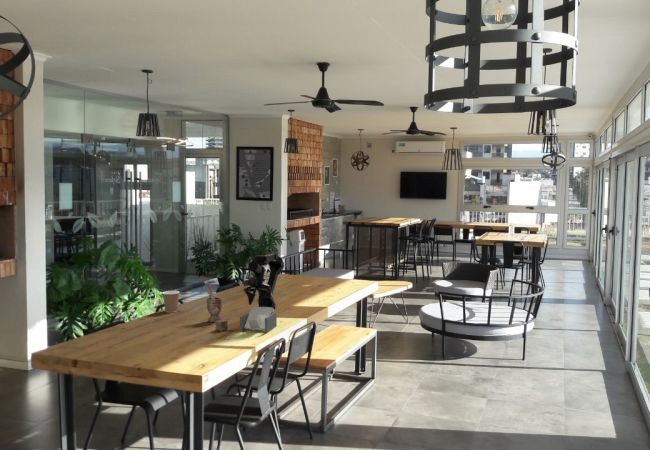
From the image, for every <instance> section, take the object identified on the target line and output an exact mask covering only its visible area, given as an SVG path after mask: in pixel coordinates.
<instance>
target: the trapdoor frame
mask: <svg viewBox="0 0 650 450" xmlns="http://www.w3.org/2000/svg"><path fill="white" fill-rule="evenodd" d="M249 313H250V311H248V312H247V313H245V314H243V315H241V316H240V317H239V328H240V329H239V330H240V331H239V332H240V333H243V332H245V331H246V330H247V329H245V328H244V327H245V324H246V321H247V319H248V316H249ZM277 323H278V322H277V311H274V312H273V313H272V314H271V315H269V316H268V317H266V318H265V330H264V333H265V334H268V333H270V332H271V331H272V330H273V329H275V328H276V327H277V326H278V325H277ZM242 331H243V332H242Z"/></svg>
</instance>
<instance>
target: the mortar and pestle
mask: <svg viewBox="0 0 650 450" xmlns="http://www.w3.org/2000/svg"><path fill="white" fill-rule="evenodd" d="M205 290H206V291H207V294H208V296H209V298H206V308H207V312H208V314H210V317H208V320H207V321H208V322H210V323H216V321H218V320H222V318H221V316H220V313H221V311H222V306H223V301H222V300H223V298H222V297H214V294H213V290H212V287H211V286H210V285H207V286H205Z"/></svg>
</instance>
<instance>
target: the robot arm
mask: <svg viewBox="0 0 650 450" xmlns="http://www.w3.org/2000/svg"><path fill="white" fill-rule="evenodd" d="M284 262H285V261H284V260H283V258H281V256H279V255H278V253H277V252H270V253H268V254H265V255H263V254H261V255H260V254H258V255H257V254H256V255H255V256H254V258H253V259H252V261H251V262H250V263H249V264H248V266H247V268H248V271H250V272H251V273H252V274H253V277H249V278H248V279H245V280H243V282H242V284H243V287H244V288H243V293H244V294H246V296H247V300H248V305H249V306H251V305H252V304H253V301H254V299H255V296H256V293H257V292H258V295H257V297H258V298H257V304H258V307H271V308H273V310H276V305H277V304H276V303H275V299H274V296H273V293H274V290H275V287H276V283H277V280H278V277H279V275H280V274H281V273H282V272H283V269H284V268H285V263H284ZM266 266H268V267H269V268H268V269H269V270H270V273H269V275H268V276H269V277H268V279H267V283H264V282H265V281H266V279H265V273H266V268H265V267H266Z"/></svg>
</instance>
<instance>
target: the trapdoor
mask: <svg viewBox="0 0 650 450" xmlns="http://www.w3.org/2000/svg"><path fill="white" fill-rule="evenodd" d="M249 312H250V313H253V312H258V313H259V316H260V318H261V324H260V328H251V327H250V325H249V322H248V319H247V321H246V324H245V327H244V328H245V329H246V330H263V331H265V318H266V317H268V316H269V315H271V314H272V313H274V312H275V309H273V308H271V307H259V306H251V308H250V311H249Z"/></svg>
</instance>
